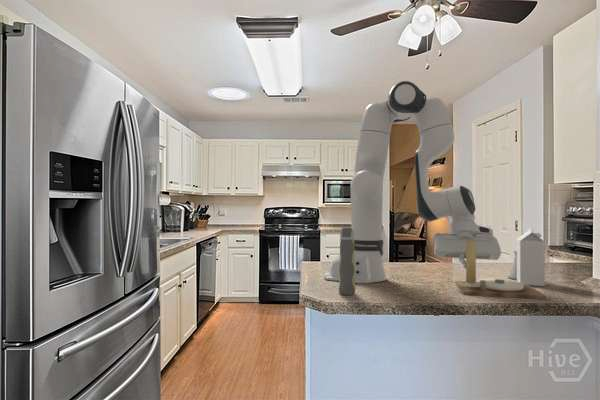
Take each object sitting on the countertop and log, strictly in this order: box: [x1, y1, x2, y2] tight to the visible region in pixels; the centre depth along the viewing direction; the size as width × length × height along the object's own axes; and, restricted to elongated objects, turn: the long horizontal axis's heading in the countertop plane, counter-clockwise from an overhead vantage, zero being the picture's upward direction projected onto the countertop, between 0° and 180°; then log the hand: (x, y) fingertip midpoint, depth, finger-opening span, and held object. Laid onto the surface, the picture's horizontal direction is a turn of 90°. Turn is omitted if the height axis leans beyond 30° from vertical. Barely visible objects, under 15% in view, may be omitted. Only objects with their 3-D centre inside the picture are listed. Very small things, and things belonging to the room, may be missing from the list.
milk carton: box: [516, 227, 546, 287], centre depth 128 cm, size 7×7×19 cm
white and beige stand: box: [465, 241, 524, 291], centre depth 117 cm, size 17×13×14 cm
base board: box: [454, 280, 547, 300], centre depth 117 cm, size 22×16×4 cm
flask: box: [507, 250, 517, 281], centre depth 137 cm, size 7×7×10 cm
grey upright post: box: [338, 226, 356, 296], centre depth 112 cm, size 5×5×20 cm
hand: (469, 267), depth 120 cm, fingers closed, pressing on white and beige stand
